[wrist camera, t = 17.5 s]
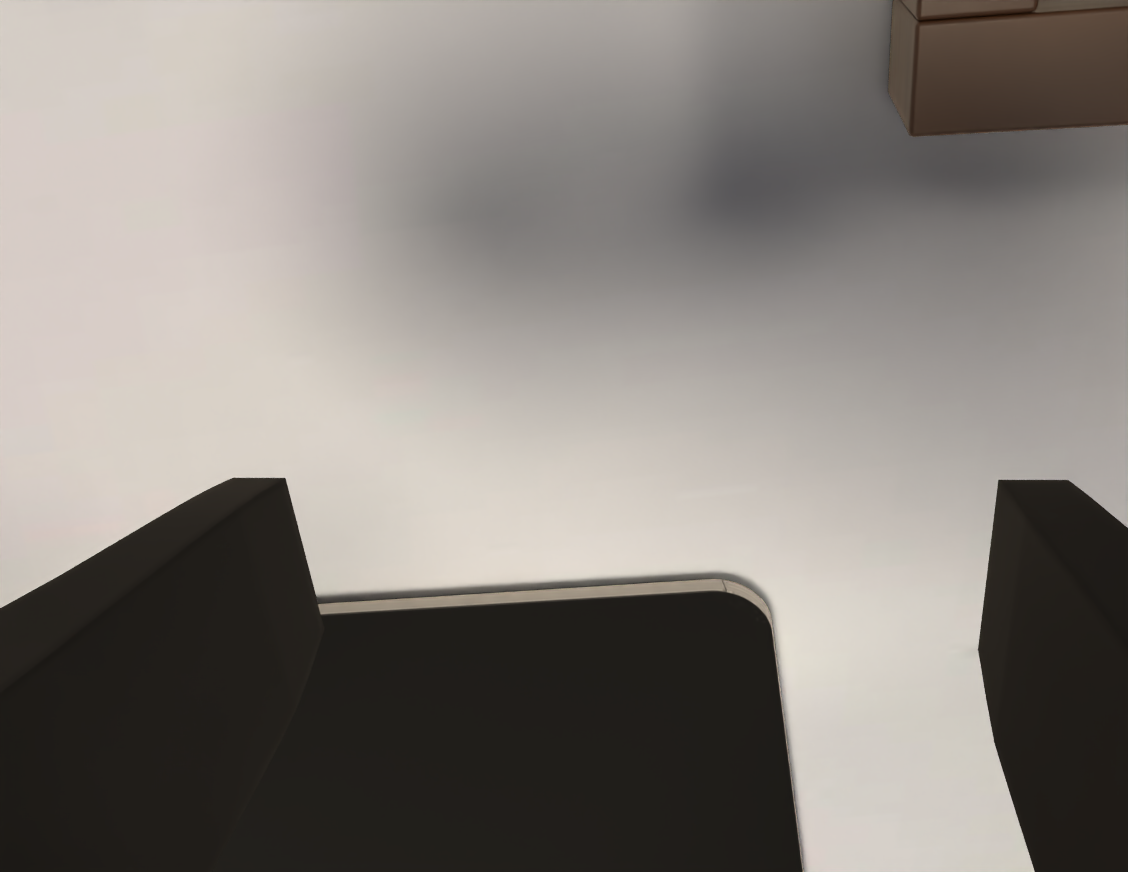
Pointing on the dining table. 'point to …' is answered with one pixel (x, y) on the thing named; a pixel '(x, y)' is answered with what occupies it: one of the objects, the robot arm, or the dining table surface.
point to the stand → (1008, 65)
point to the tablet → (534, 738)
